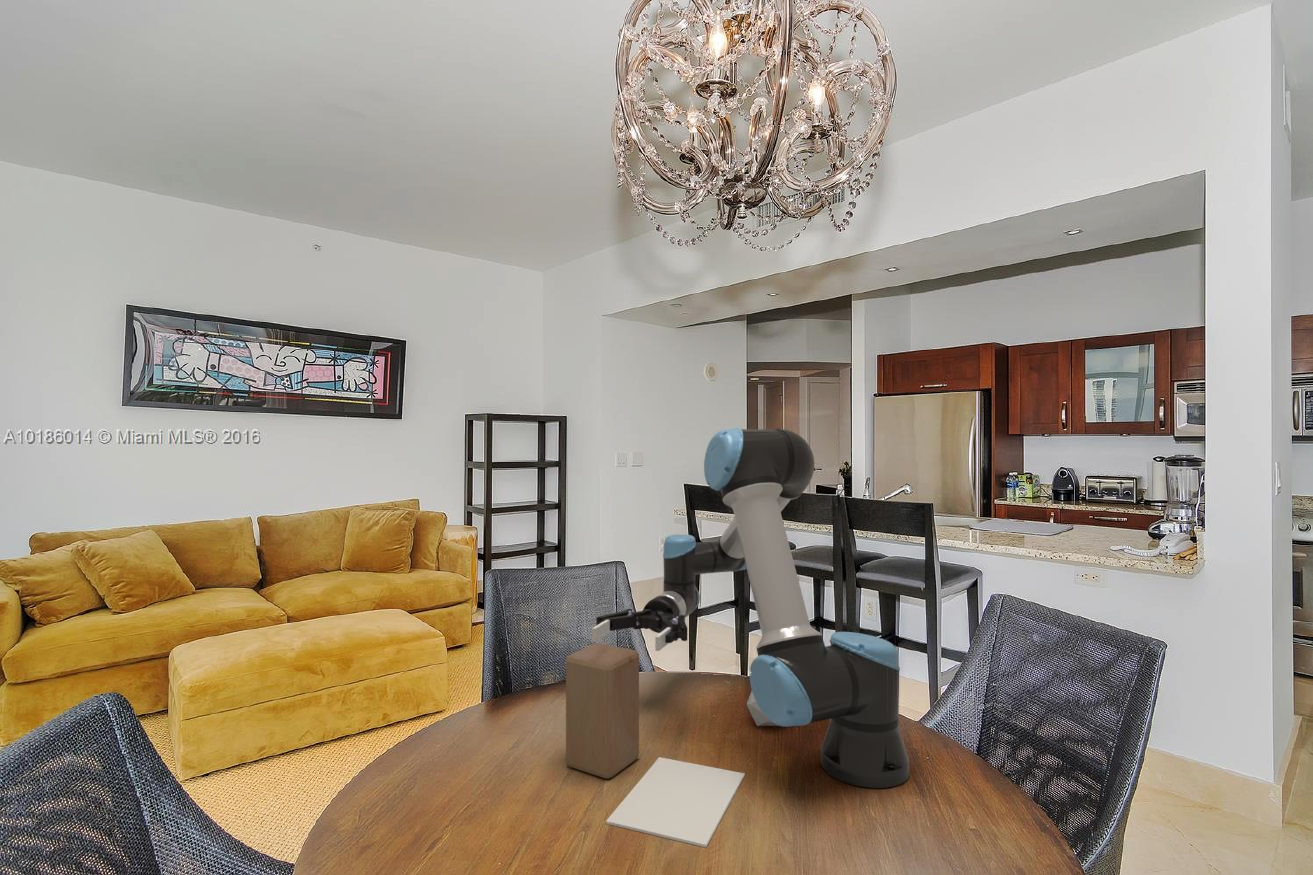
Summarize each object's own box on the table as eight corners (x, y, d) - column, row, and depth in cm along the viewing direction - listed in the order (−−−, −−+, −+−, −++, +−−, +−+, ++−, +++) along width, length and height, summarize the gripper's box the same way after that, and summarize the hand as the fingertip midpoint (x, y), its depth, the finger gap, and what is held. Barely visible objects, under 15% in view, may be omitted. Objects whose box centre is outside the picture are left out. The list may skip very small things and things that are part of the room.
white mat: (744, 775, 117) (744, 773, 117) (706, 847, 96) (706, 844, 96) (659, 759, 123) (659, 756, 123) (606, 823, 102) (606, 820, 102)
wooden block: (641, 758, 123) (641, 649, 123) (608, 782, 114) (608, 665, 114) (597, 745, 128) (597, 640, 128) (563, 767, 120) (563, 655, 120)
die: (779, 739, 132) (801, 694, 135) (741, 714, 134) (763, 670, 137) (772, 736, 140) (793, 694, 143) (736, 713, 141) (757, 672, 144)
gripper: (717, 635, 146) (685, 667, 126) (613, 622, 155) (568, 650, 135) (717, 600, 146) (685, 627, 126) (614, 590, 155) (568, 613, 135)
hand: (624, 639), depth 131 cm, fingers open, 13 cm apart
